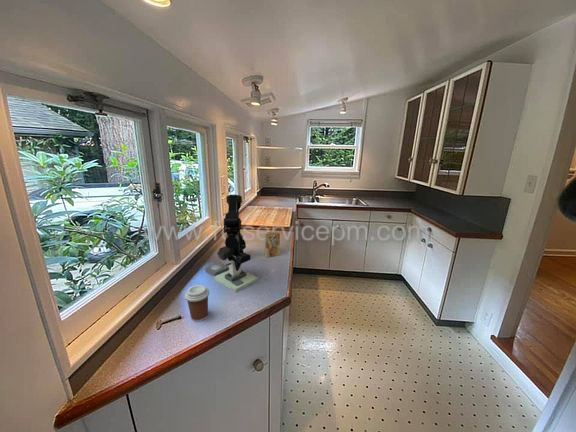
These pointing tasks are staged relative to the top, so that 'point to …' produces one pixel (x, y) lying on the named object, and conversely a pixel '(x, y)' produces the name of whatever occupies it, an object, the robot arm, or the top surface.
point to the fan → (216, 269)
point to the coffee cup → (198, 302)
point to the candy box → (272, 244)
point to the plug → (233, 268)
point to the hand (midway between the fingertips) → (235, 269)
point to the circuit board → (235, 280)
